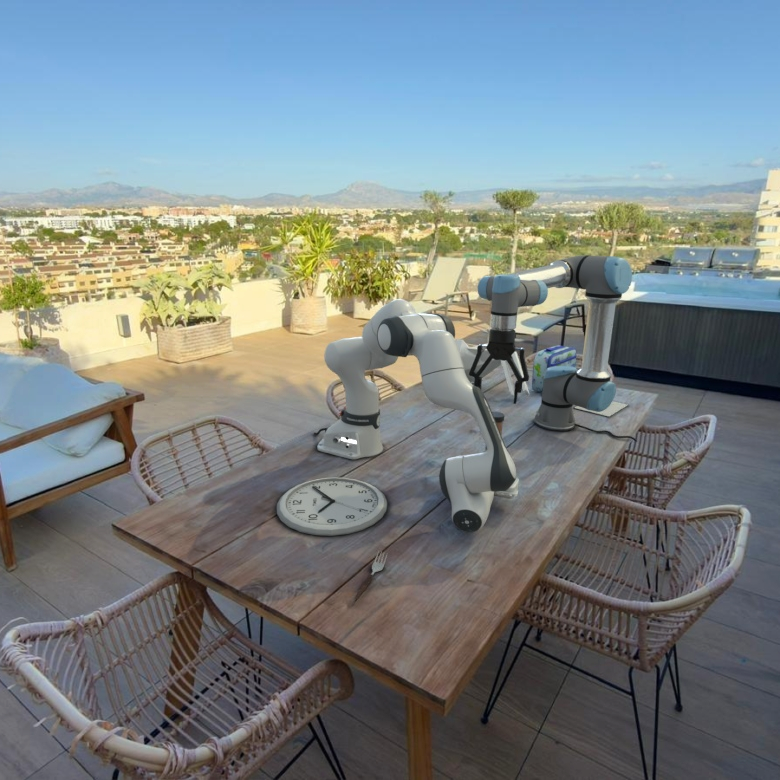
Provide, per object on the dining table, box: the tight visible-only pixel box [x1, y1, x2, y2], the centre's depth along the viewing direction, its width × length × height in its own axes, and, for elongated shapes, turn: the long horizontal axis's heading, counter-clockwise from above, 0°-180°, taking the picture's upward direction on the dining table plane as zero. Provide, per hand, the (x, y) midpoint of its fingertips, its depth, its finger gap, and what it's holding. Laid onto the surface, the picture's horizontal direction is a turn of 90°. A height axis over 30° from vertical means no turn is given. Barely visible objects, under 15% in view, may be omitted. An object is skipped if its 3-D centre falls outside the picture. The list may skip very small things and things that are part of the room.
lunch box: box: [531, 345, 577, 393], centre depth 245 cm, size 26×11×21 cm, turn 134°
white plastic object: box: [455, 338, 531, 397], centre depth 245 cm, size 37×45×31 cm
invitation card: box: [573, 400, 629, 418], centre depth 226 cm, size 21×1×15 cm
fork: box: [354, 550, 388, 603], centre depth 112 cm, size 3×16×2 cm, turn 160°
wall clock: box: [276, 476, 388, 537], centre depth 142 cm, size 30×2×30 cm
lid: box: [492, 411, 505, 423], centre depth 161 cm, size 5×5×2 cm
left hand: (485, 469), depth 152 cm, fingers open, 8 cm apart
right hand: (496, 400), depth 160 cm, fingers open, 10 cm apart
